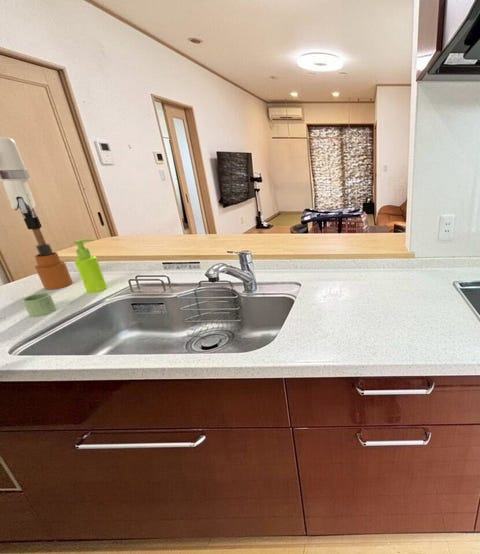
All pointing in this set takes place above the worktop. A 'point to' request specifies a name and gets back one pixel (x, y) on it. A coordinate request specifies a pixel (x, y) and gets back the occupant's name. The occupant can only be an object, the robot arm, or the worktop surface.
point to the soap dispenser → (89, 268)
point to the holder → (39, 304)
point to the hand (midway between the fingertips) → (35, 227)
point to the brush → (42, 244)
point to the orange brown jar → (52, 271)
